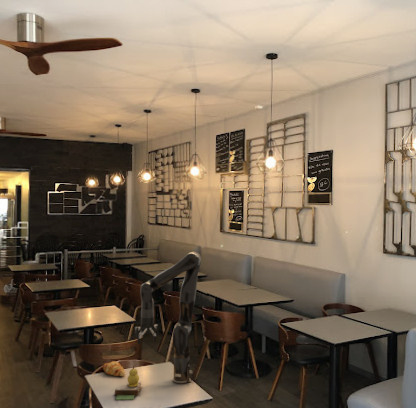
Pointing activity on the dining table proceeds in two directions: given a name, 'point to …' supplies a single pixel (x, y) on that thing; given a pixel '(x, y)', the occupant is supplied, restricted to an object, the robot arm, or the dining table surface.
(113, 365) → the croissant
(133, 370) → the pear
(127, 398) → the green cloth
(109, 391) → the dining table surface
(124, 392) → the corner fence
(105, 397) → the dining table surface
